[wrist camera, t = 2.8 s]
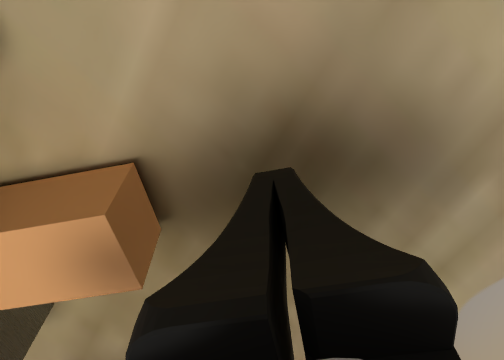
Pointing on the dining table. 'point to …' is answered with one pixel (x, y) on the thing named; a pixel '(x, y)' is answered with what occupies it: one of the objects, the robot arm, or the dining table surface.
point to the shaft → (75, 237)
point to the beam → (20, 329)
